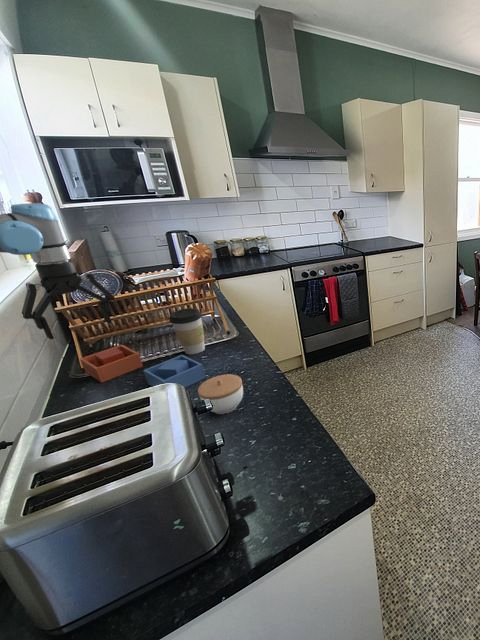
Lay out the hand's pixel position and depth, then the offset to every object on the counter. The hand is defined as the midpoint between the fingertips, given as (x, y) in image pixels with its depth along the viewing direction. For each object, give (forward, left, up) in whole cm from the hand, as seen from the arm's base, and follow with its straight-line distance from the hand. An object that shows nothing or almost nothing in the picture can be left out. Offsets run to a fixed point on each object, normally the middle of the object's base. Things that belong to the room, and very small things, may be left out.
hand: (80, 329), depth 106 cm
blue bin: (+11, -25, -16) cm, 32 cm away
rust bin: (+4, -1, -16) cm, 16 cm away
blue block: (+11, -25, -15) cm, 31 cm away
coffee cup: (+25, -10, -16) cm, 31 cm away
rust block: (+4, -1, -15) cm, 16 cm away
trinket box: (+11, -50, -16) cm, 54 cm away
